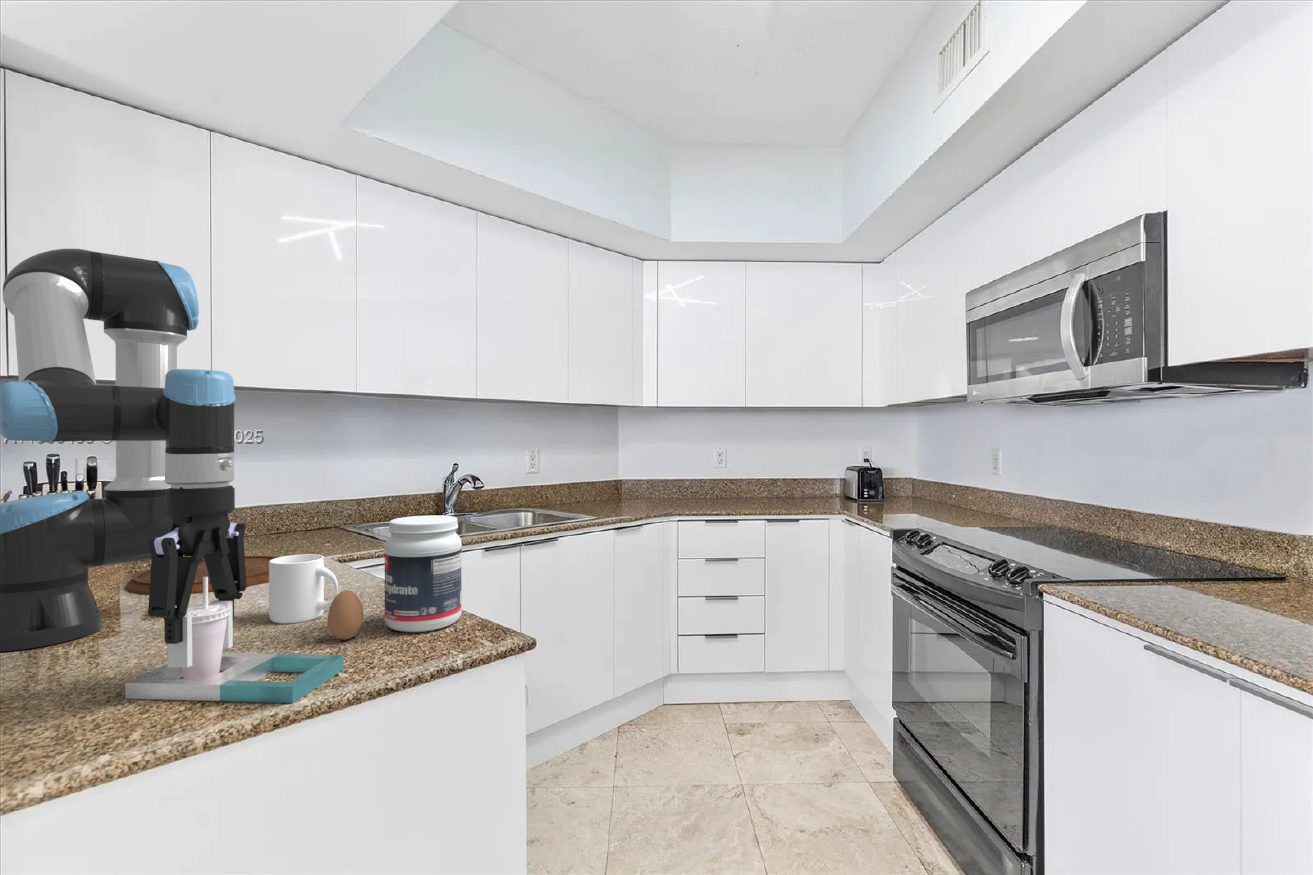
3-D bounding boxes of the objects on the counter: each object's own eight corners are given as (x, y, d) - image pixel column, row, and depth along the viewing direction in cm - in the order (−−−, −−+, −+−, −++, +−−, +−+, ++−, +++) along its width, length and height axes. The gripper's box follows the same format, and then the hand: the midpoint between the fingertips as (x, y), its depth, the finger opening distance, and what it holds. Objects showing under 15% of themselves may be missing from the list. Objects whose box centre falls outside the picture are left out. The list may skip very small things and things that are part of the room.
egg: (349, 632, 103) (349, 585, 103) (370, 636, 101) (370, 588, 101) (320, 641, 99) (320, 592, 99) (341, 646, 96) (341, 596, 96)
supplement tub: (367, 628, 105) (367, 521, 105) (425, 609, 117) (424, 513, 117) (422, 639, 100) (422, 526, 100) (477, 618, 111) (477, 517, 111)
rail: (125, 698, 77) (125, 682, 77) (196, 665, 88) (196, 651, 88) (292, 703, 76) (292, 687, 76) (343, 669, 87) (343, 655, 87)
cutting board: (262, 559, 166) (261, 550, 166) (319, 575, 147) (319, 564, 147) (106, 582, 140) (106, 571, 140) (152, 605, 121) (152, 592, 121)
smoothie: (241, 676, 85) (241, 574, 85) (193, 694, 79) (192, 585, 78) (209, 670, 87) (208, 571, 87) (159, 687, 81) (158, 581, 81)
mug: (323, 625, 107) (323, 564, 107) (257, 624, 108) (257, 563, 108) (351, 611, 116) (350, 554, 116) (290, 610, 117) (289, 553, 116)
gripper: (165, 492, 73) (166, 686, 73) (276, 479, 92) (276, 633, 92) (106, 491, 73) (107, 685, 73) (228, 479, 92) (229, 632, 92)
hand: (201, 656), depth 83 cm, fingers closed on smoothie, 6 cm apart
